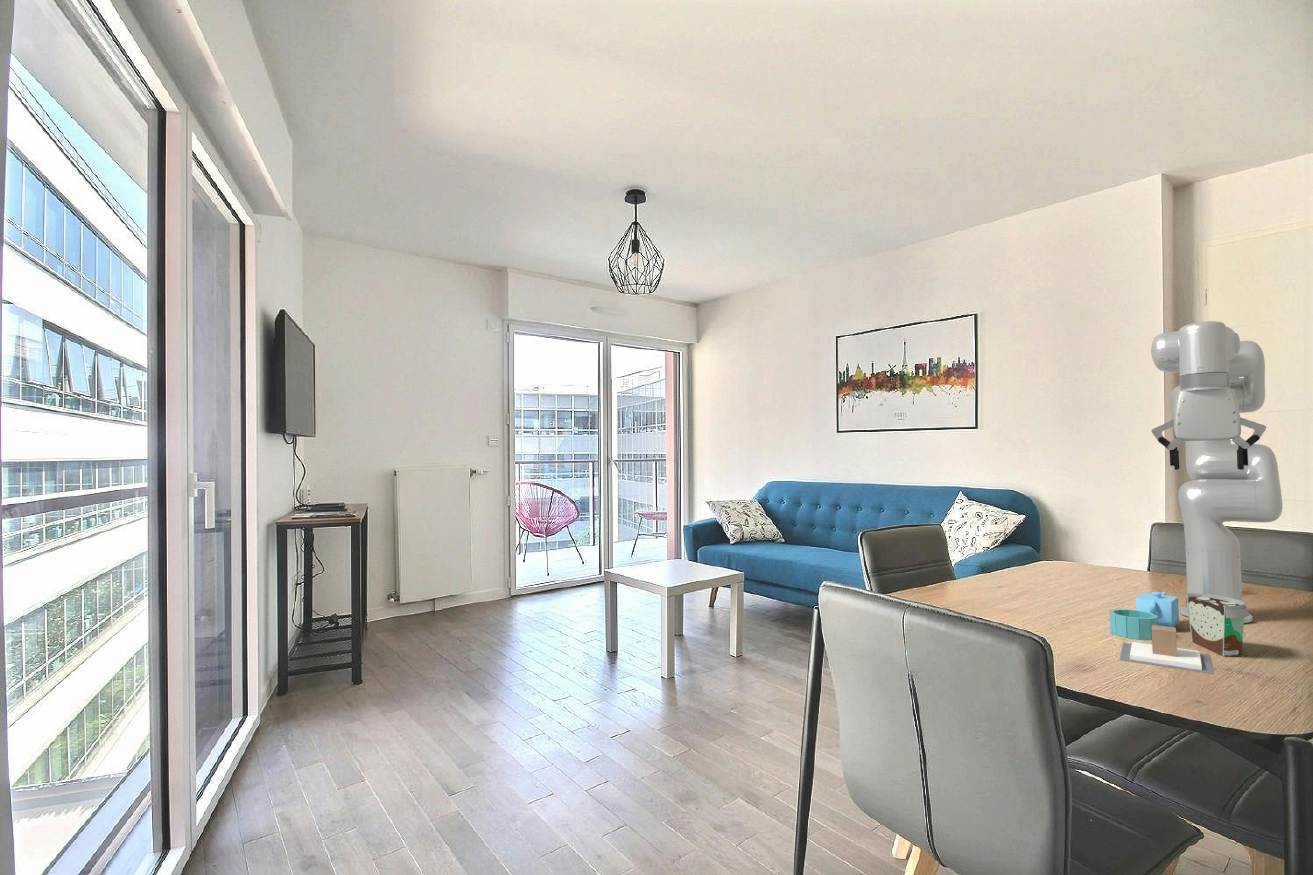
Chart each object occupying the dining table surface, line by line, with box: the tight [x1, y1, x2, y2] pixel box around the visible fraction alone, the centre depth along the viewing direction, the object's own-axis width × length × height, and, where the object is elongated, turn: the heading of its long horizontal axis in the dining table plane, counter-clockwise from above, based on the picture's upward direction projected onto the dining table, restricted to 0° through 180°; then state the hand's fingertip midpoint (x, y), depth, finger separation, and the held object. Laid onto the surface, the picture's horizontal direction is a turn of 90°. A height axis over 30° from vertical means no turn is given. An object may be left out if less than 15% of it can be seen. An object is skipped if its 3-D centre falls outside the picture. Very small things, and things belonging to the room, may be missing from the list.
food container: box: [1185, 592, 1250, 658], centre depth 121 cm, size 12×6×10 cm, turn 168°
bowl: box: [1109, 608, 1158, 641], centre depth 132 cm, size 8×8×5 cm
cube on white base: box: [1130, 625, 1202, 670], centre depth 117 cm, size 10×10×5 cm
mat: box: [1119, 642, 1215, 675], centre depth 117 cm, size 13×13×1 cm
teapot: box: [1135, 591, 1180, 628], centre depth 140 cm, size 12×6×8 cm, turn 131°
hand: (1208, 469), depth 126 cm, fingers open, 9 cm apart
